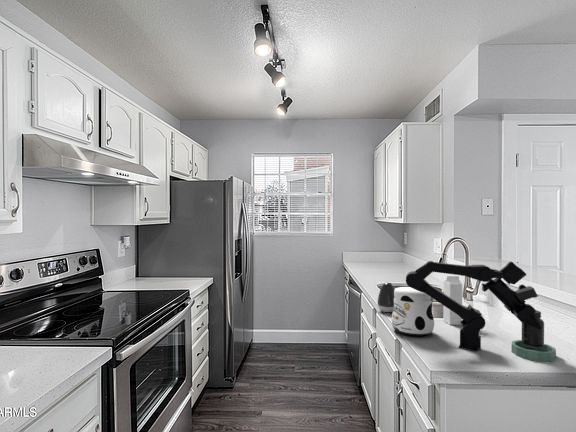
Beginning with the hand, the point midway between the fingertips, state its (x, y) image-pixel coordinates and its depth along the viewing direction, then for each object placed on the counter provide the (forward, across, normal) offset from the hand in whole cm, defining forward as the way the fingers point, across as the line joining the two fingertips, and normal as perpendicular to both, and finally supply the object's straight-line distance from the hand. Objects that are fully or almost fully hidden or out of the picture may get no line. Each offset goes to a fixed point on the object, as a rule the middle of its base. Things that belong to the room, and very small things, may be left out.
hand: (537, 326), depth 132 cm
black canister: (-30, +46, +46) cm, 72 cm away
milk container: (-22, +13, +38) cm, 45 cm away
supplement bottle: (+4, 0, +6) cm, 7 cm away
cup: (+7, 0, +8) cm, 10 cm away
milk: (-9, +34, +25) cm, 43 cm away
